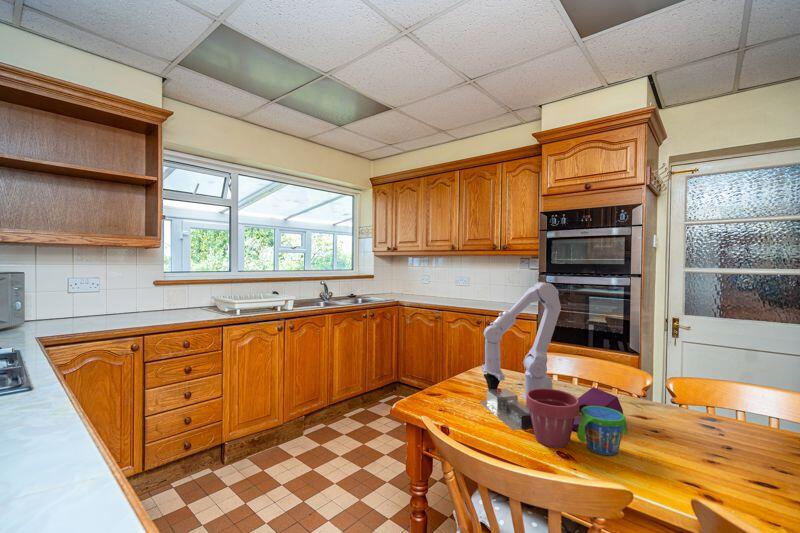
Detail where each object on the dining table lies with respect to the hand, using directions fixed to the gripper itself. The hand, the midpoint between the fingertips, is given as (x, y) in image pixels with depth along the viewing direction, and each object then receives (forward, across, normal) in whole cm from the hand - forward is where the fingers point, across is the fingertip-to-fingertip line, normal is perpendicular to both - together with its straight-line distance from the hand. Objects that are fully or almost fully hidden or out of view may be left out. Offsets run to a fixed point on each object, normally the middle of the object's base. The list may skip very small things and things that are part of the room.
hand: (492, 393), depth 140 cm
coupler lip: (+2, +14, 0) cm, 15 cm away
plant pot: (+2, +34, +1) cm, 35 cm away
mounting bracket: (+2, +27, +19) cm, 33 cm away
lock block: (+1, +7, 0) cm, 7 cm away
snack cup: (+2, +42, +11) cm, 44 cm away
